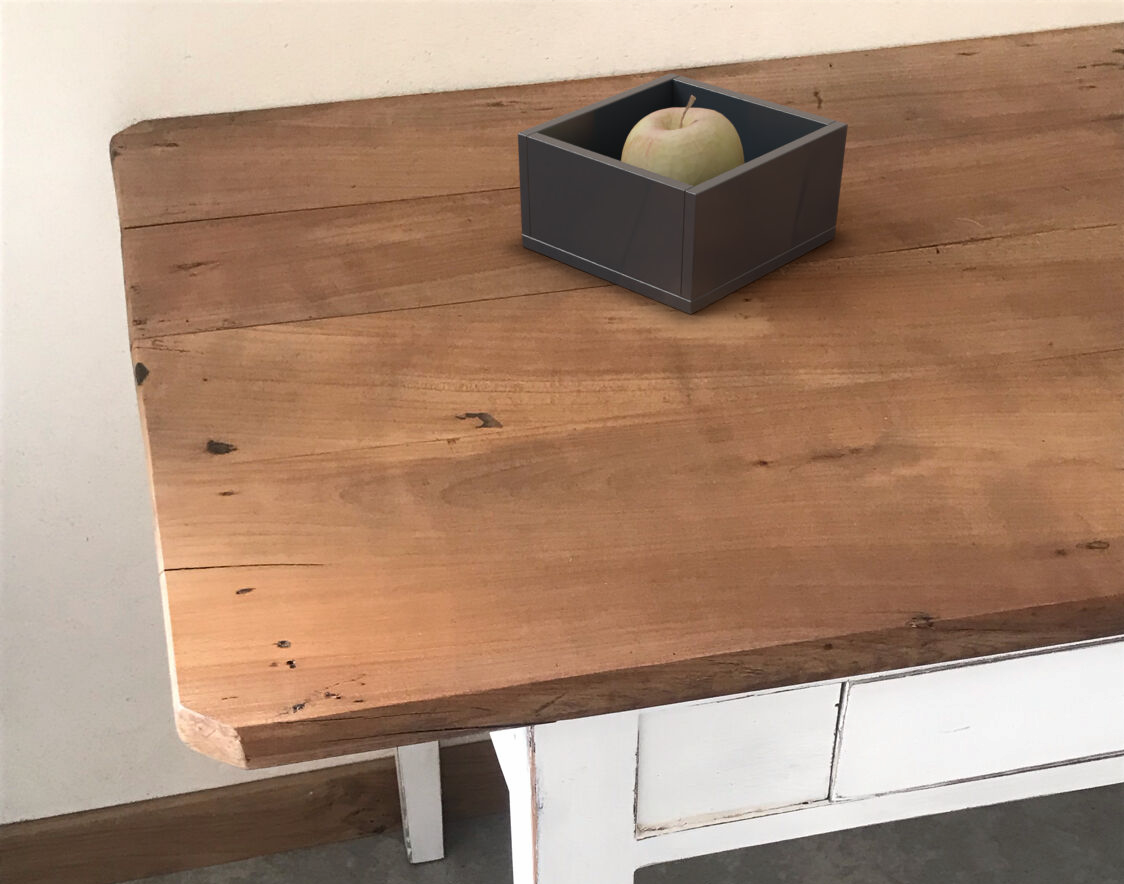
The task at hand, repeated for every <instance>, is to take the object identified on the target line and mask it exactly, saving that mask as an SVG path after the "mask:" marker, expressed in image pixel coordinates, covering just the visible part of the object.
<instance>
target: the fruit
mask: <svg viewBox="0 0 1124 884" xmlns="http://www.w3.org/2000/svg"><path fill="white" fill-rule="evenodd" d="M695 100H696V98H695V97H694V96H693V95H691V97H690V100H689V102H688V104H687V106H686V108H667V109H663V110H658V111H656V112H653V113H651V114H649V115H647V116H646V117H644V118H643V119H642V120H640V121H639V122H638V123H637V124H636V125H635V126H634V128H633V129H632V130H631V132H630V133H629V135H628V137H627V140H626V142H625V144H624V148H623V152H622V158H621V161H622V162H625V163H628V164H630V165H633V166H636V167H639V168H642V169H645V170H648V171H651V172H654V173H657V174H660V175H663V176H666V177H669V178H672V179H674V180H677V181H680V182H683V183H686V184H689V185H692V186H694V187H695V186H697V185H699V184H701V183H703V182H705V181H708V180H710V179H712V178H714V177H716V176H718V175H721V174H723V173H725V172H727V171H729V170H732V169H734V168H736V167H738V166H740V165H742V164H744V155H743V148H742V144H741V141H740V138H739V135H738V133H737V131H736V129H735V128H734V126H733V124H732V123H731V122H730V121H729V120H728V119H727V118H726V117H725V116H723V115H722V114H720V113H718V112H716V111H714V110H710V109H704V108H690V107H691V106H692V105H693V103H694V101H695Z"/></svg>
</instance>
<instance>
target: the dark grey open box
mask: <svg viewBox="0 0 1124 884" xmlns="http://www.w3.org/2000/svg"><path fill="white" fill-rule="evenodd" d="M691 95H693V96H694V97H695V98H696V100H695V101H694V103H693V105H692V106H691V107H690V108H704V109H710V110H714V111H716V112H718V113H720V114H722V115H723V116H725V117H726V118H727V119H728V120H729V121H730V122H731V123H732V124H733V126H734V128H735V129H736V131H737V133H738V135H739V138H740V141H741V144H742V148H743V155H744V164H742V165H740V166H738V167H736V168H734V169H732V170H729V171H727V172H725V173H723V174H721V175H718V176H716V177H714V178H712V179H710V180H708V181H705V182H703V183H701V184H699V185H697V186H695V187H694V186H692V185H689V184H686V183H683V182H680V181H677V180H674V179H672V178H669V177H666V176H663V175H660V174H657V173H654V172H651V171H648V170H645V169H642V168H639V167H636V166H633V165H630V164H628V163H625V162H622V161H621V158H622V152H623V148H624V144H625V142H626V140H627V137H628V135H629V133H630V132H631V130H632V129H633V128H634V126H635V125H636V124H637V123H638V122H639V121H640V120H642V119H643V118H644V117H646V116H647V115H649V114H651V113H653V112H656V111H658V110H663V109H667V108H686V106H687V104H688V102H689V100H690V97H691ZM848 127H849V124H848V123H847V122H842V121H839V120H835V119H831V118H828V117H824V116H821V115H818V114H814V113H810V112H807V111H803V110H800V109H797V108H793V107H791V106H787V105H783V104H780V103H777V102H774V101H773V102H772V101H770V100H766V99H763V98H759V97H757V96H752V95H749V94H745V93H742V92H739V91H735V90H732V89H727V88H724V87H721V86H718V85H713V84H710V83H707V82H704V81H700V80H697V79H693V78H689V77H687V76H684V75H683V76H682V75H679V74H676V73H672V72H670V73H668V74H665V75H663V76H660V77H657V78H655V79H652V80H650V81H647V82H645V83H642V84H639V85H637V86H634V87H631V88H629V89H626V90H623V91H621V92H619V93H616V94H614V95H611V96H608V97H605V98H604V99H603V98H602V99H601V100H598V101H596V102H593V103H591V104H588V105H585V106H583V107H580V108H578V109H575V110H573V111H570V112H568V113H565V114H562V115H560V116H557V117H555V118H553V119H550V120H547V121H545V122H544V121H543V122H542V123H539V124H537V125H534V126H532V127H529V128H525V129H524V130H522V131H519V132H517V152H518V175H519V196H520V197H519V198H520V199H519V201H520V218H521V219H520V221H521V222H520V223H521V246H522V248H525V249H528V250H530V251H533V252H535V253H538V254H540V255H543V256H545V257H548V258H551V259H553V260H555V261H558V262H560V263H562V264H565V265H567V266H570V267H573V268H575V269H577V270H580V271H582V272H585V273H588V274H590V275H592V276H594V277H597V278H599V279H602V280H604V281H606V282H608V283H609V282H610V283H612V284H615V285H617V286H619V287H622V288H623V289H627V290H629V291H632V292H635V293H637V294H639V295H642V296H644V297H646V298H650V299H652V300H654V301H656V302H659V303H661V304H664V305H666V306H669V307H671V308H674V309H676V310H679V311H682V312H684V313H686V314H688V315H692V314H694V313H696V312H698V311H700V310H703V309H705V308H706V307H708V306H709V305H711V304H713V303H715V302H717V301H719V300H721V299H723V298H725V297H726V296H728V295H731V294H732V293H734V292H736V291H738V290H740V289H742V288H743V287H746V286H747V285H749V284H751V283H753V282H755V281H757V280H758V279H760V278H762V277H764V276H767V275H768V274H770V273H772V272H773V271H776V270H778V269H780V268H781V267H783V266H785V265H786V264H788V263H791V262H792V261H795V260H796V259H798V258H800V257H802V256H804V255H806V254H807V253H810V252H812V251H813V250H815V249H817V248H819V247H820V246H823V245H825V244H827V243H828V242H830V241H832V240H834V239H835V237H836V231H837V230H836V229H837V221H838V213H839V203H840V195H841V187H842V179H843V170H844V161H845V155H846V154H845V153H846V145H847V134H848Z"/></svg>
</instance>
